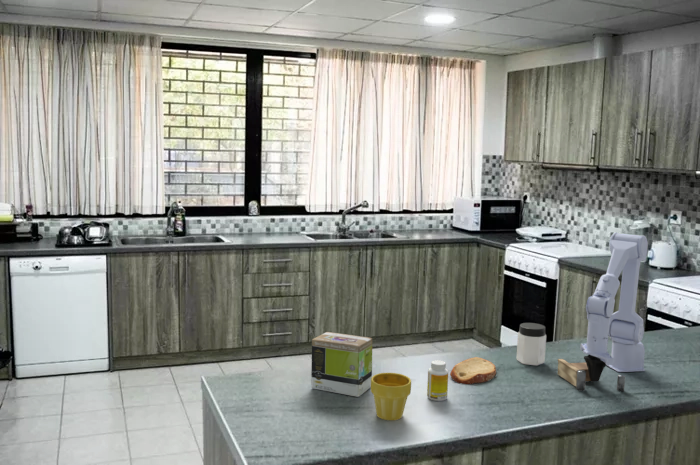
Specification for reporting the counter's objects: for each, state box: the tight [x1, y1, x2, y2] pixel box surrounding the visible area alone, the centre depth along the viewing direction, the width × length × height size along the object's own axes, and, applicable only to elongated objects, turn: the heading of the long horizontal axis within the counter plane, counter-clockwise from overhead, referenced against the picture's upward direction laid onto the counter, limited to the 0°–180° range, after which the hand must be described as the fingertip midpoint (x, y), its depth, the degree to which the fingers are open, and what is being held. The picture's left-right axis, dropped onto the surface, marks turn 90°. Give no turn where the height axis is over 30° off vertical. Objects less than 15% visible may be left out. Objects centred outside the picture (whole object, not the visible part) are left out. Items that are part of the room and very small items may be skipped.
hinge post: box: [575, 370, 586, 392], centre depth 191 cm, size 2×2×6 cm
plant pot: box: [370, 372, 412, 421], centre depth 169 cm, size 10×10×10 cm
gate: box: [556, 358, 579, 387], centre depth 198 cm, size 11×2×5 cm, turn 11°
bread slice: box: [449, 356, 497, 385], centre depth 203 cm, size 18×18×4 cm
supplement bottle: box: [426, 359, 449, 402], centre depth 182 cm, size 6×6×10 cm
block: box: [569, 361, 592, 383], centre depth 201 cm, size 6×6×4 cm
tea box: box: [310, 331, 373, 398], centre depth 187 cm, size 15×10×15 cm, turn 65°
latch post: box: [616, 374, 626, 392], centre depth 191 cm, size 2×2×4 cm
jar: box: [515, 322, 547, 366], centre depth 215 cm, size 9×8×12 cm
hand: (594, 380), depth 195 cm, fingers closed
